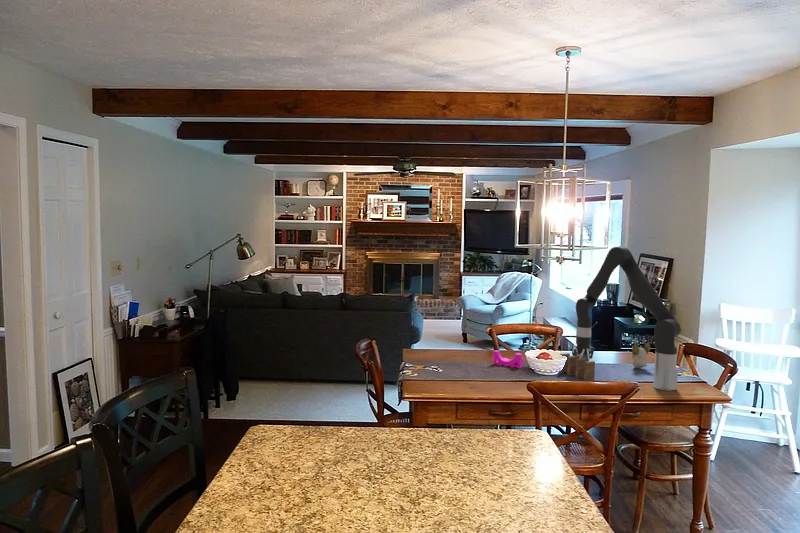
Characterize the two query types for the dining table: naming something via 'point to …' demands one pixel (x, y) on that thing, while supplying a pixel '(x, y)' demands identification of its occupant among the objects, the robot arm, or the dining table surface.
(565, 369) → the walnut domino
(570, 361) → the walnut domino
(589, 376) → the walnut domino
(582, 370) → the walnut domino
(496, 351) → the toy block
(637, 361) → the ceramic sculpture
